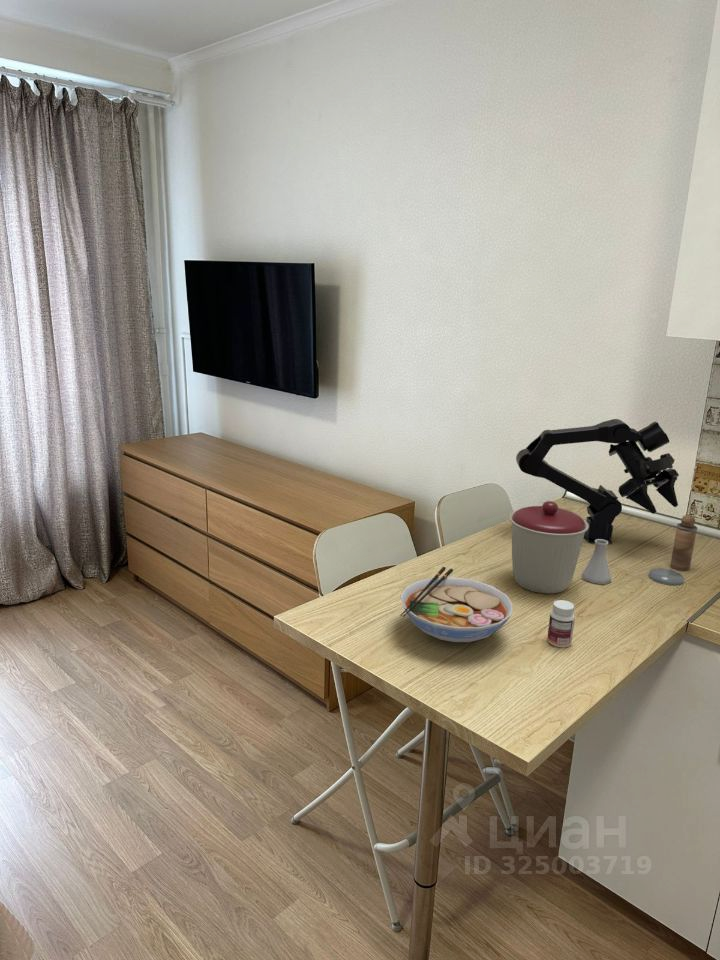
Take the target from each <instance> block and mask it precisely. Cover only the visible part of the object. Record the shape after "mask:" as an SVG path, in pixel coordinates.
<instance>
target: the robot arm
mask: <svg viewBox="0 0 720 960" xmlns="http://www.w3.org/2000/svg"><path fill="white" fill-rule="evenodd" d="M589 442H601V443H606V444H609V450H608V455H609V457H612V456H613V455H616V454H617V456H618V457H619V459H620V461H621V463H623V465H624V467H625V468H624V470H623V472H624V473H625V474H628V473H629V475H630V477H631V478H629V479H627V480H626V481H625V482H623V483H622V484H621V485H620V486H618V494H619V495H620V497H621V498H624V497H625V499H627V500H630V501H632V502H634V503H635V504H637V505H639V506H640V507H642V508H643V509H645V510H647V511H648V512H650V513H652V514H656V513H657V508H656V507H655V505H654V502H653V501H652V500H651V498H650V495H649V493H648V487H649V486H653V487H655V488H656V489H655V491H656V492H658V494H659V495H661V497H663V498H664V499H665V500H666V501H667V502H668V503H669V504H670V505H671V506H672V507H673V508H677V507H678V506H679V503H678V499H677V494H676V490H675V485H676V481H678V477H679V476H680V474H679V473H678V471H677V470H676V469H674V468H673V467H674V466H673V465H674V463H675V458H674V457H673V456H672V454H670V453H667V452H666V453H663V454H661V455H660V456H659V458H657V459H652V457H651V456H647V457H646V456H645V454H644V453H643V451H644V452H646V451H647V452H648V453H652V452H654V451H656V450H658V449H659V448H662V447H663V446H665V445H667V444H669V443H670V438H669V437H668V435H667V433H666V432H665V431H664V430H663V428H662V427H661V426H660V424H659V423H658V422H657V421H653V422H651V423H650V424H649V425H647V426H645V427H643V428H642V429H640V430H637V429H635V428H631V427H630V426H629V425H628V424H627V423H626V422H624V421H622V419H620V418H613V419H612V418H611V419H609V420H605V421H601V422H600V423H597V424H595V425H594V424H593V425H589V426H579V427H569V428H568V427H567V428H560V429H559V428H558V429H545V430H543V431H542V432H541V433H539V436H537V437H536V438H535V439H533V440H532V441H531V442H530V443H529V444H528V445H527V446H526V447H525V448H523V449H520V450H519V451H518V452H517V454H516V457H515V461H516V463H517V465H518V467H519V469H520V471H521V472H522V473H524V474H526V475H529V476H532V477H535V478H541V479H542V478H543V479H545V480H547V481H548V482H551V483H553V484H554V485H556V486H558V487H560V488H561V489H564V490H565V491H567V492H569V493H571V494H573V495H574V496H576V497H578V498H581V499H582V500H584V501H585V502H587V503H588V504H589V505H587V506H586V511H587V514H588V515H589V516H586V520H585V521H586V522H587V523H588V525H589V528H588V530H587V531H586V532H585V533H584V537H583V538H584V539H585V540H586V541H587V542H588V543H590V544H592V543H593V544H595V540H596V539H602V540H606V541H608V544H612V542H613V541H612V537H613V530H614V525H613V522H614V521H615V519H616V517H618V516H619V515H621V512H622V511H623V506H622V503H621V502H620V500H619V499H618V498H619V497H618V496H617V495H616V493H615V492H614V491H613V490H610V489H607V488H605V487H604V486H603V485H602V484H600V485H599V486H598V488H595V487H591V486H589V485H588V484H585V483H584V482H582V481H581V480H578V479H577V478H575V477H573V476H572V475H569V474H567V473H565V472H564V471H562V470H560V469H559V468H556V467H555V466H553V465H551V464H549V463H548V462H547V461H546V460H545V458H546V456H547V454H548V453H549V452H550V450H551V449H552V448H553V446H558V445H568V444H570V445H571V444H579V443H581V444H582V443H589Z"/></svg>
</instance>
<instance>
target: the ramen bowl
mask: <svg viewBox="0 0 720 960" xmlns="http://www.w3.org/2000/svg"><path fill="white" fill-rule="evenodd" d="M446 569H447V568H446V567H445V566H442V567H441V568H440V570H438V572H437V573H436V574H435V575H434V576H433V577H429V578H424V579H420V580H416V581H414V582H413V583H411V584H409V585H407V586H405V587H404V588H403V591H402V592H401V594H400V600H401V603H402V606H403V610H404V611H403V612H402V613H401V614H400V617H403V618H404V617H405V616H408V618H409V619H410V621H411V622H412V623H413V624H414V625H415V626H416V627H417V628H419V629H420V630H421V631H422V632H424V633H425V634H427V635H429V636H432V637H434V638H436V639H438V640H441V641H446V642H453V643H472V642H475V641H479V640H483V639H487V638H489V637H490V636H492V635H493V634H494V633H495V632H497V631H498V630H499V629H501V628H502V627H504V625H505V624H506V623H507V622H508V620H509V619H510V618H511V616H512V612H513V608H514V604H513V603H512V601H511V599H510V598H509V596H508V595H507V594H506V593H504V592H502V591H501V590H499V589H498V588H497V587H494V586H492V585H489V584H486V583H485V582H484V583H483V582H481V581H479V580H475V579H470V578H462V577H457V576H450V575H451V574H452V573H453V572H454V568H449V569H448V570H447V572H446V573H444V572H445V571H446ZM443 573H444V574H443ZM442 574H443V575H442ZM441 575H442V576H441ZM404 613H405V614H404ZM403 614H404V615H403Z"/></svg>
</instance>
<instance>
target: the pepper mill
mask: <svg viewBox="0 0 720 960" xmlns="http://www.w3.org/2000/svg"><path fill="white" fill-rule="evenodd" d="M680 521H681V522H679V523H677V524H676V530H675V531H676V532H675V536H674V542H673V546H672V547H673V548H672V553H671V560H670V564H669V567H670V568H671V569H672V570H674V571H675V570H676V571H678V572H689V571H690V569H691V563H692V558H693V552H694V546H695V542H696V536H697V532H698V531H697V530H698V527H697V526H696V525H695V524H696V518H695V517H694V516H693V515H691V514H685V515H683V516H682V518H681V520H680Z"/></svg>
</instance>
